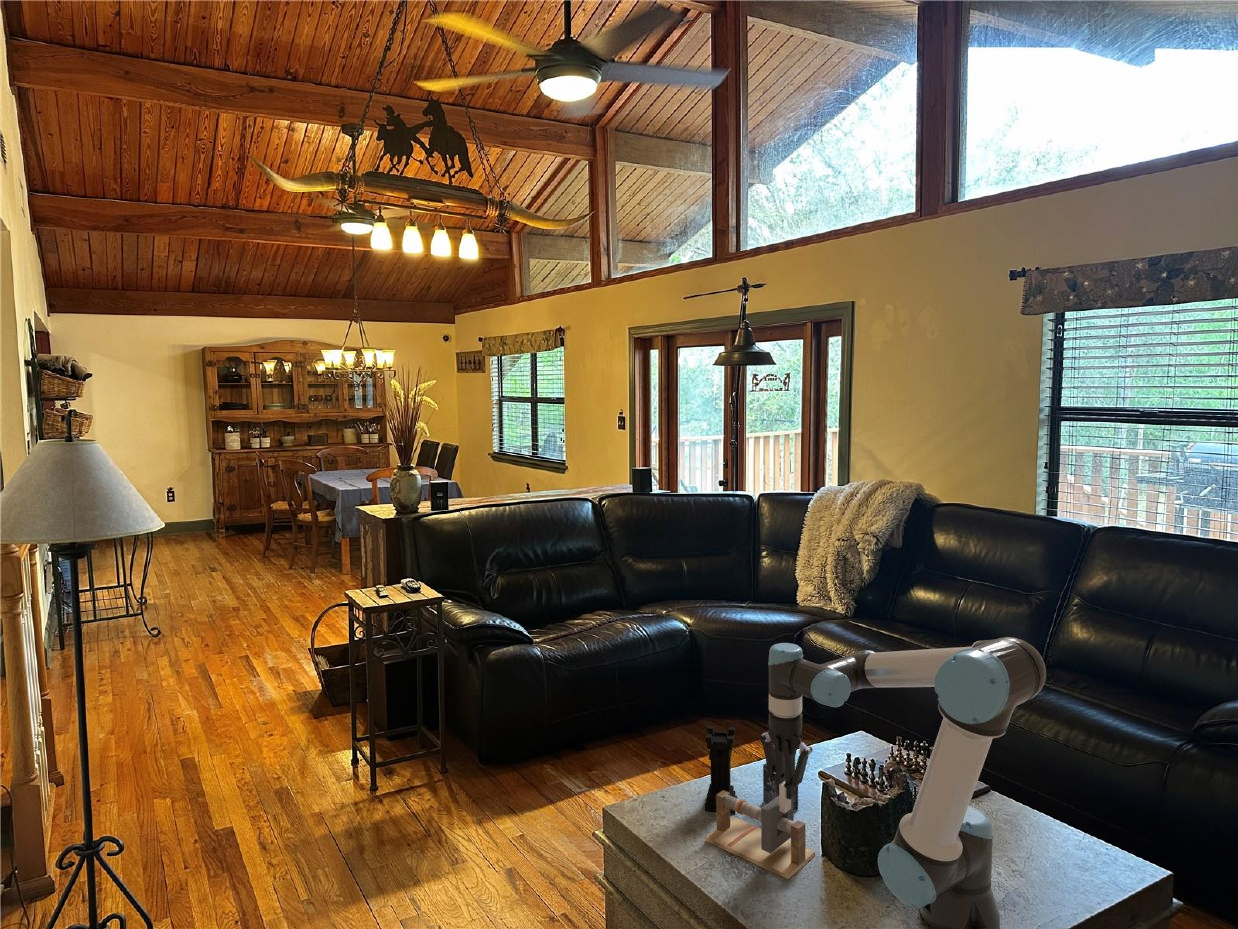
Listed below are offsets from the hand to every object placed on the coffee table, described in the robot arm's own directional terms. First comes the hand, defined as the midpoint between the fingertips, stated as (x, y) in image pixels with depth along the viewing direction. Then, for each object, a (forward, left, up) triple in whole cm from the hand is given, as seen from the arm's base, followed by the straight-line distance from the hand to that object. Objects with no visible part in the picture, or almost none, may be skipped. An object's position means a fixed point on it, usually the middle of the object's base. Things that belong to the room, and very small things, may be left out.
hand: (785, 809), depth 183 cm
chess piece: (+26, -10, -12) cm, 30 cm away
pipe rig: (+7, 0, -12) cm, 14 cm away
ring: (+2, 0, -9) cm, 9 cm away
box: (+14, -20, -12) cm, 27 cm away
